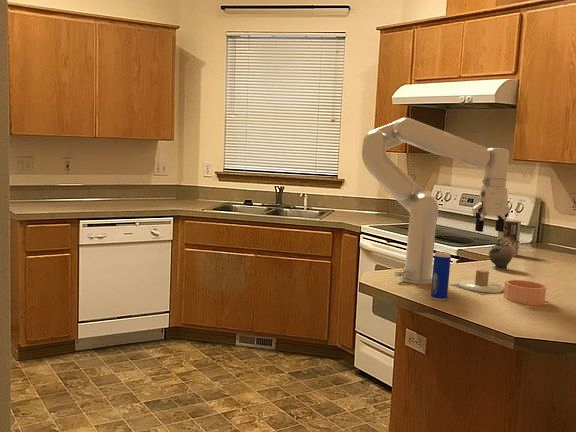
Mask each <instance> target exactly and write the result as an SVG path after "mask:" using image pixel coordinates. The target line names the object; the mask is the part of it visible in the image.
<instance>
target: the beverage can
mask: <svg viewBox="0 0 576 432" xmlns="http://www.w3.org/2000/svg"><path fill="white" fill-rule="evenodd" d="M451 259H452V256H451V252H448V251H435V252H434V254H433V264H432V275H431V277H432V284H431V288H430V289H431V291H430V298H431V299H433V300H436V301H446V300H447V299H448V292H449V281H450V269H451Z"/></svg>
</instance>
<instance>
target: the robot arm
mask: <svg viewBox="0 0 576 432" xmlns="http://www.w3.org/2000/svg"><path fill="white" fill-rule="evenodd" d="M404 143H406V144H408V145H410V146H414V147H416V148H419V149H421V150H423V151H426V152H429V153H431V154H434V155H436V156H437V155H438V156H441V157H446V158H451V159H453V160H456V161H459V162H460V163H464V164H465V165H466V166H468V167H471V168H476V169H481V168H483V167H484V173H483V174H484V175H483V179H482V186H481V189H480V192H479V197H478V201H477V204H476V205H474V206H472V208H471V210H472V215H473V216H474V220H476V221H475V227H474V230H475V231H476V232H480V233H483V232H484V224H485V221H484V219H485V218H486V216H487V217H488V216H491V217H493V216H494V217H496V218H497V219H496V221H495V230H494V231H496V232H498V231H500V232H503V229H504V221H505V220H507V218H508V217H509V214H510V212H511V210H512V209H511V207H509V206H508V199H509V197H508V188H506V184H507V176H508V169H509V168H508V167H509V160H510V151H509V149H508V148H503V147H501V148H500V147H489V148H488V147H486V146H483V145H480V144H478V143H475V142H473V141H470V140H467V139H465V138H462V137H459V136H456V135H455V134H452V133H450V132H447V131H444V130H443V129H439V128H436V127H434V126H431V125H428V124H426V123H423V122H421V121H418V120H415V119H413V118H409V117H402V118H399V119H397V120H395V121H393V122H392V123H391V122H390V123H389V124H387V125H383V126H381V127H378V128H375V129H373V130H370V131H368V132H366V134H365V135H364V137H363V140H362V147H361V157H362V158H361V159H362V161H363V162H362V163H363V164H364V166H365V167H364V168H366V169H367V172H369V174H370V175H372V176H373V177H374V178H375V180H376V181H377V182H378V183H380V184H381V186H383V187H384V189H385V190H387V192H388V194H389V195H390V196H391V197H393V198H394V200H396V201H397V202H398V203H399V204H400V205H401V206H402V207H403V208H404V209H405V210H406V211H407V212H408V213H409V219H408V221H409V222H408V229H407V240H406V241H407V243H406V253H405V254H406V255H405V266H404V267H403V268H402V270H401V271H400V270H399V271H398V270H397V271H395V272H394V275H395V276H394V277H396V278H399V279H400V281H402V282H405V283H409V284H415V285H417V284H418V285H432V275H433V264H434V253H435V252H434V251H435V241H436V239H435V238H436V228H437V222H438V217H439V205H438V202H437V200H436V199H435V198H434V197H433V196H432V195H430V194H428V192H426V191H425V190H424V189H423V188H422V187H421V186H420V185H418V184H417V182H415V181H414V180H413V178H412V177H411V176H410V175H409V174H407V173H406V172H404V171H403V170H402V169H401V168H400V167H399V166H398V165H396V163H394V162H393V160H392V159H390V157H389V156H388V154H387V150H389V149H391V148H394V147H397V146H400V145H402V144H404Z"/></svg>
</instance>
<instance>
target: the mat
mask: <svg viewBox="0 0 576 432" xmlns="http://www.w3.org/2000/svg"><path fill="white" fill-rule="evenodd" d="M450 286H451V287H455V288H458V289H462V290H465V291H468V292H472V293H474V294H477V295H482V296H485V295H492V294H493V295H494V294H495V295H496V293H482V292H475V291H470V290H466V289H463V288H461V287H460V286H459V283H454V284H453V283H452V284H450ZM501 293H502V294H504V291H503V292H500V293H499V294H501Z"/></svg>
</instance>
